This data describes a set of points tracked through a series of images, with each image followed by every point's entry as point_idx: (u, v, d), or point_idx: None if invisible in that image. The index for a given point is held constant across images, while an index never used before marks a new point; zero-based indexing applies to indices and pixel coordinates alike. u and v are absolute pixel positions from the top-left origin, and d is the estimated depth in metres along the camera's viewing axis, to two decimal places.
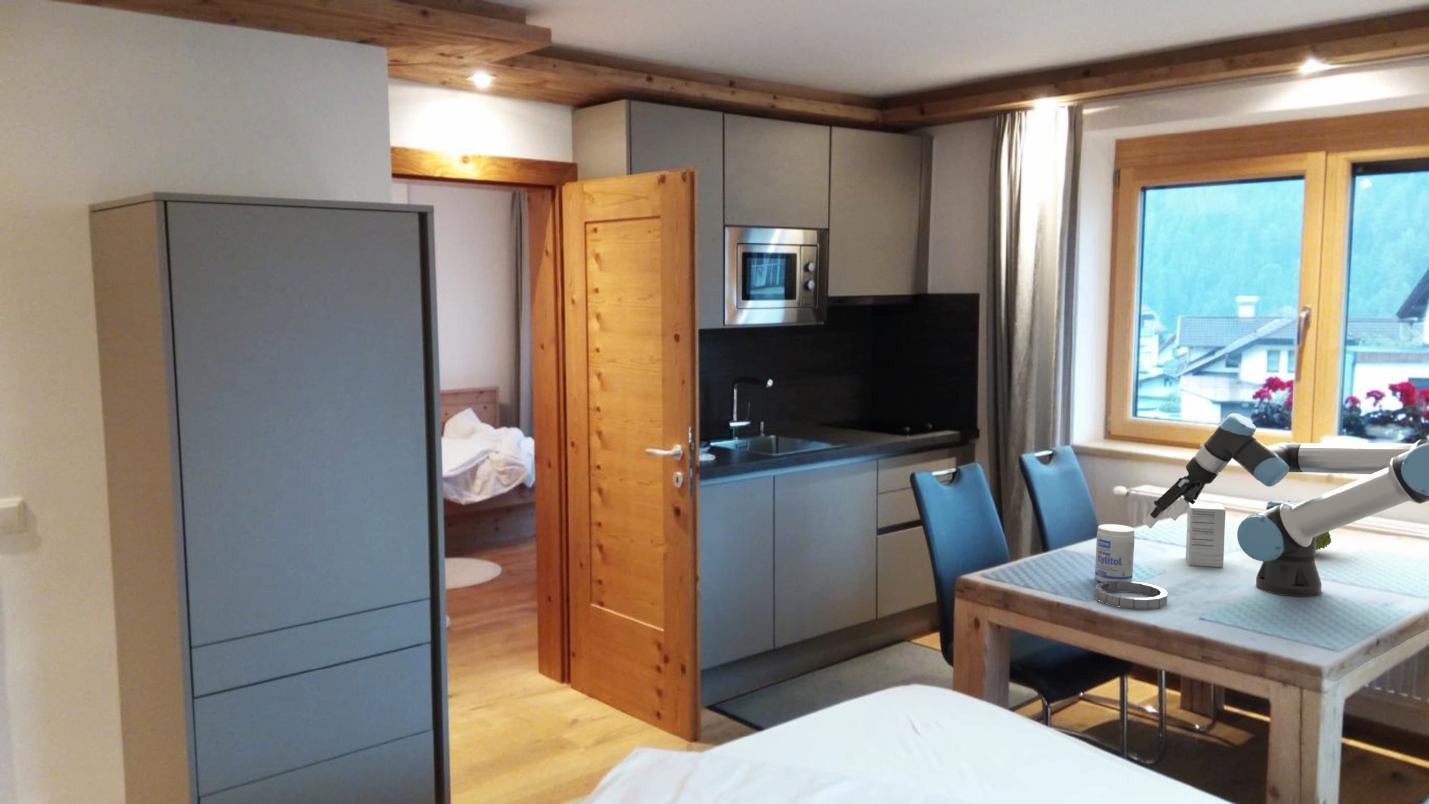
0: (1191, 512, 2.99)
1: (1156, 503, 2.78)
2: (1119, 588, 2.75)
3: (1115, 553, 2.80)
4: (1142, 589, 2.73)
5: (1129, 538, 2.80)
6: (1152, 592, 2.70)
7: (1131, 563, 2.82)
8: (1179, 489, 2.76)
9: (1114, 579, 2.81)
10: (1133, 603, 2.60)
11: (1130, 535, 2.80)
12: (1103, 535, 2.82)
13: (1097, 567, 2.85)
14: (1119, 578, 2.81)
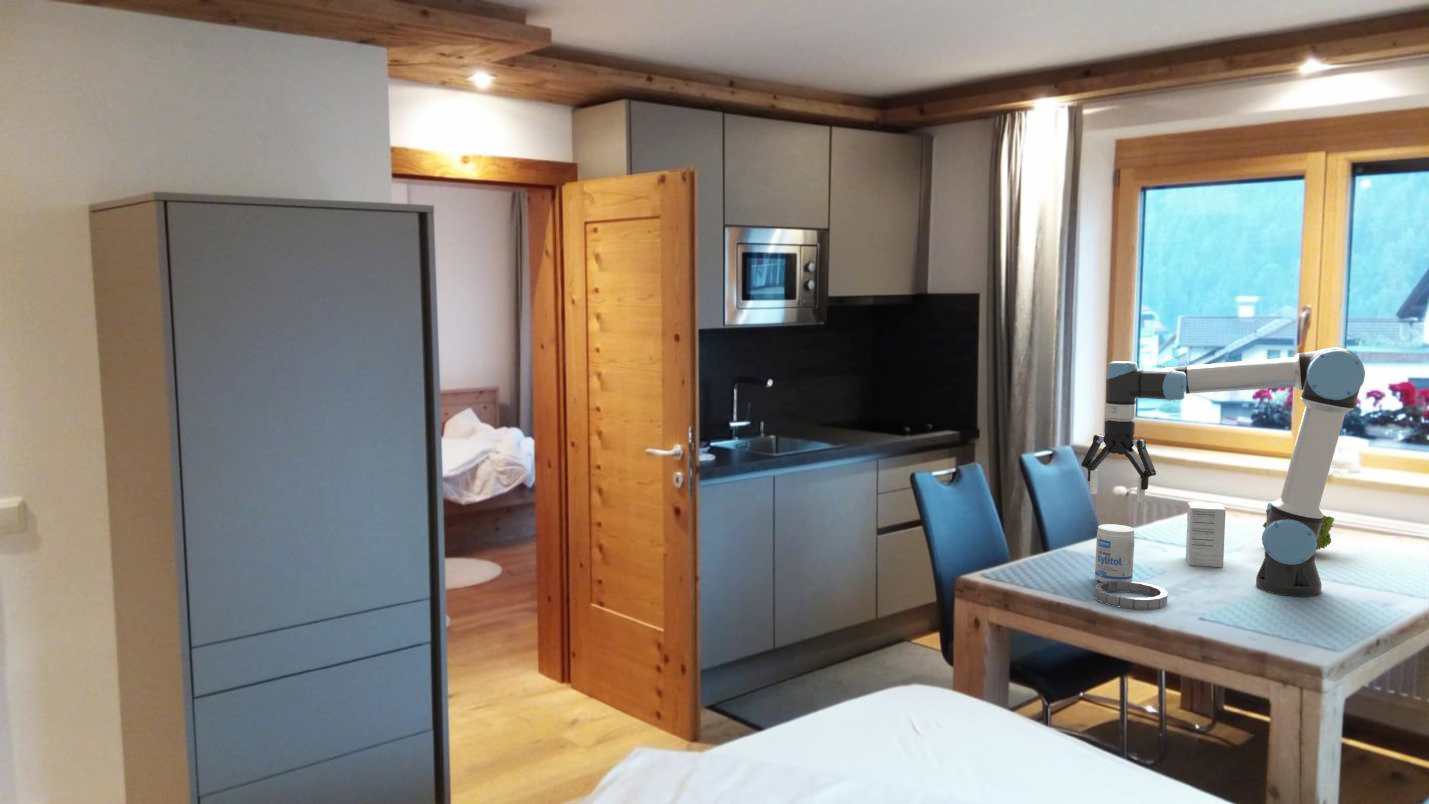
0: (1191, 512, 2.99)
1: (1152, 473, 2.74)
2: (1119, 588, 2.75)
3: (1115, 553, 2.80)
4: (1142, 589, 2.73)
5: (1129, 538, 2.80)
6: (1152, 592, 2.70)
7: (1131, 563, 2.82)
8: (1145, 449, 2.77)
9: (1114, 579, 2.81)
10: (1133, 603, 2.60)
11: (1130, 535, 2.80)
12: (1103, 535, 2.82)
13: (1097, 567, 2.85)
14: (1119, 578, 2.81)
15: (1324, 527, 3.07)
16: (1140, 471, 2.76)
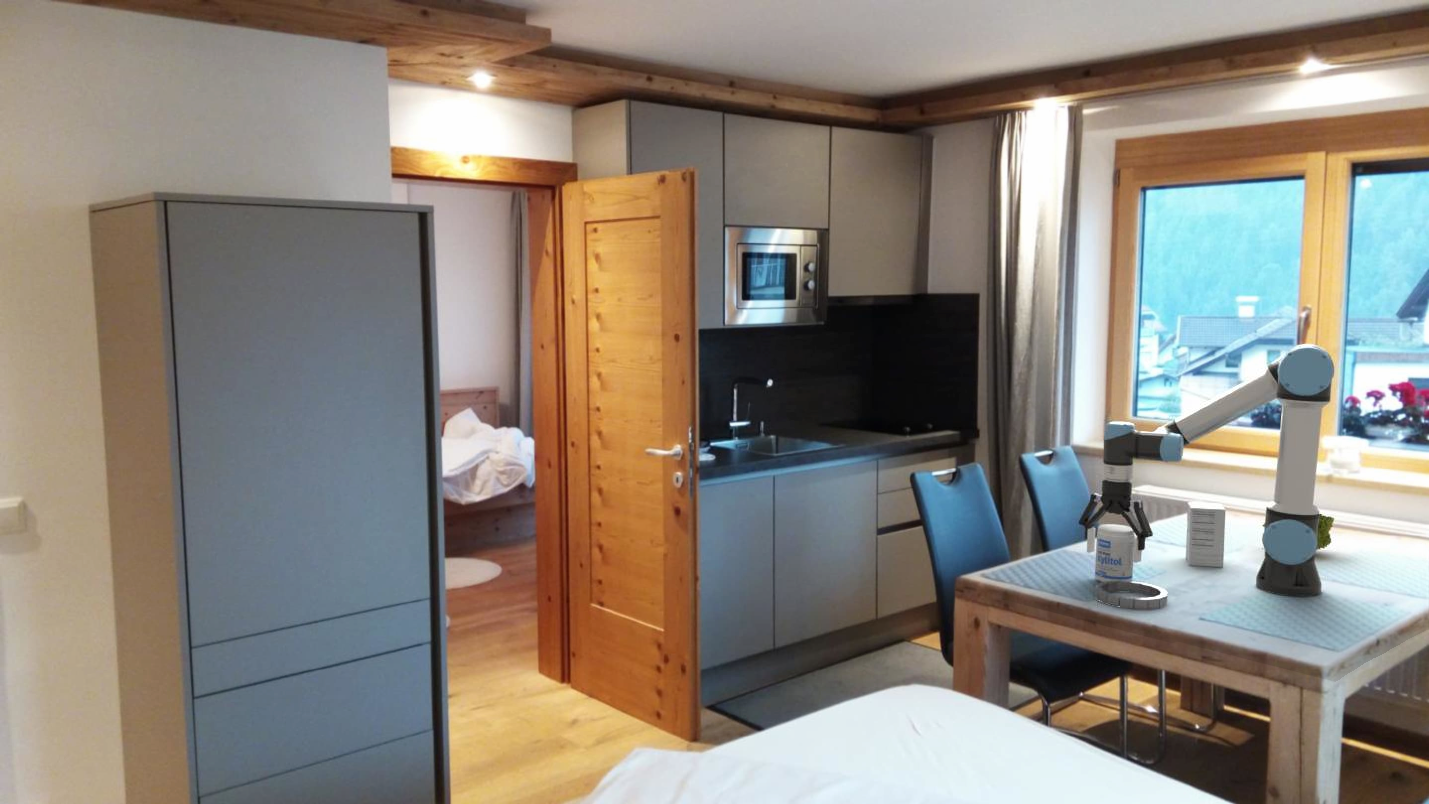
0: (1191, 512, 2.99)
1: (1149, 534, 2.76)
2: (1119, 588, 2.75)
3: (1115, 553, 2.80)
4: (1142, 589, 2.73)
5: (1129, 538, 2.80)
6: (1152, 592, 2.70)
7: (1131, 563, 2.82)
8: (1142, 510, 2.78)
9: (1114, 579, 2.81)
10: (1133, 603, 2.60)
11: (1130, 535, 2.80)
12: (1103, 535, 2.82)
13: (1097, 567, 2.85)
14: (1119, 578, 2.81)
15: (1324, 527, 3.07)
16: (1137, 532, 2.78)
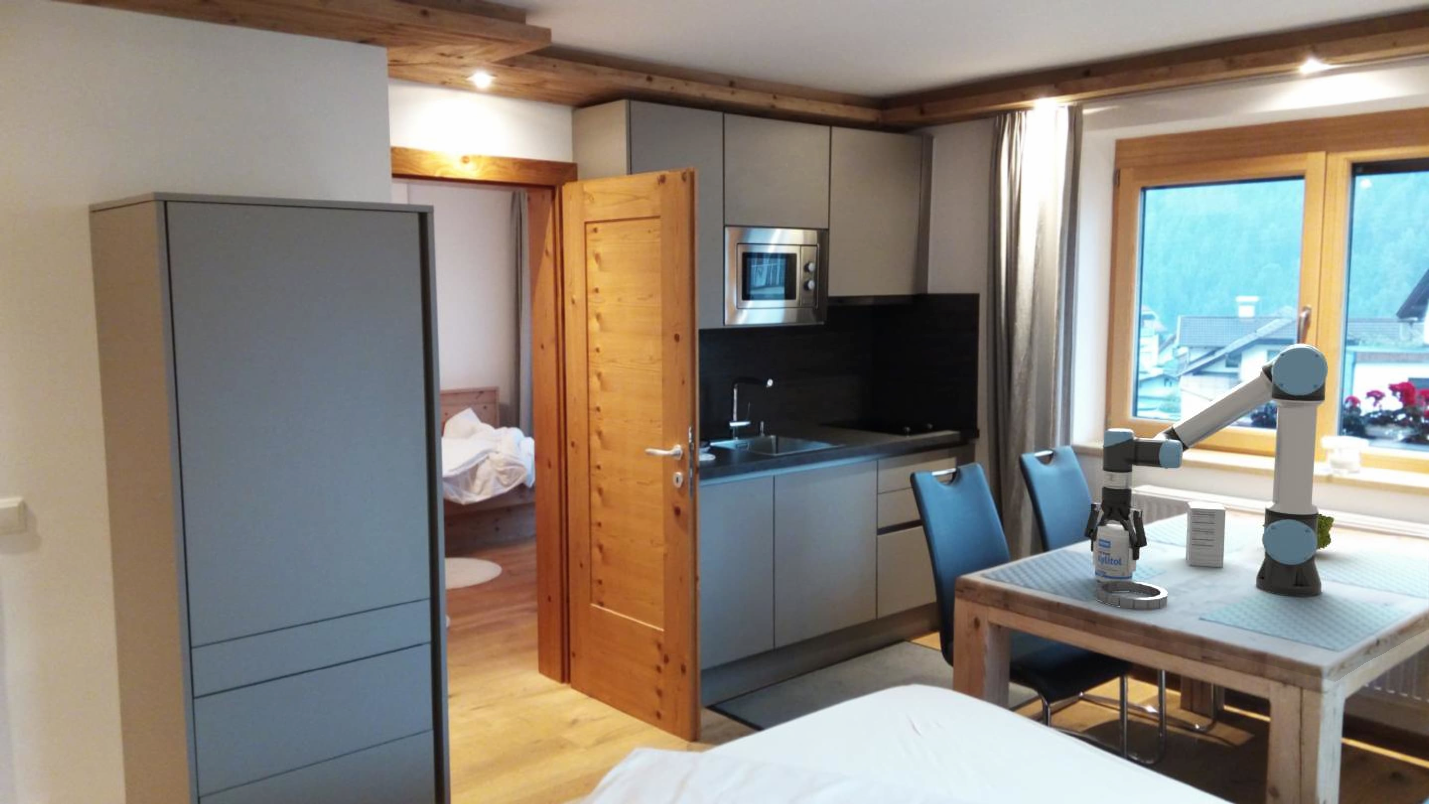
0: (1191, 512, 2.99)
1: (1143, 544, 2.77)
2: (1119, 588, 2.75)
3: (1115, 553, 2.80)
4: (1142, 589, 2.73)
5: None
6: (1152, 592, 2.70)
7: None
8: (1140, 519, 2.79)
9: (1114, 579, 2.81)
10: (1133, 603, 2.60)
11: None
12: (1103, 535, 2.82)
13: (1097, 567, 2.85)
14: (1119, 578, 2.81)
15: (1324, 527, 3.07)
16: (1132, 541, 2.79)
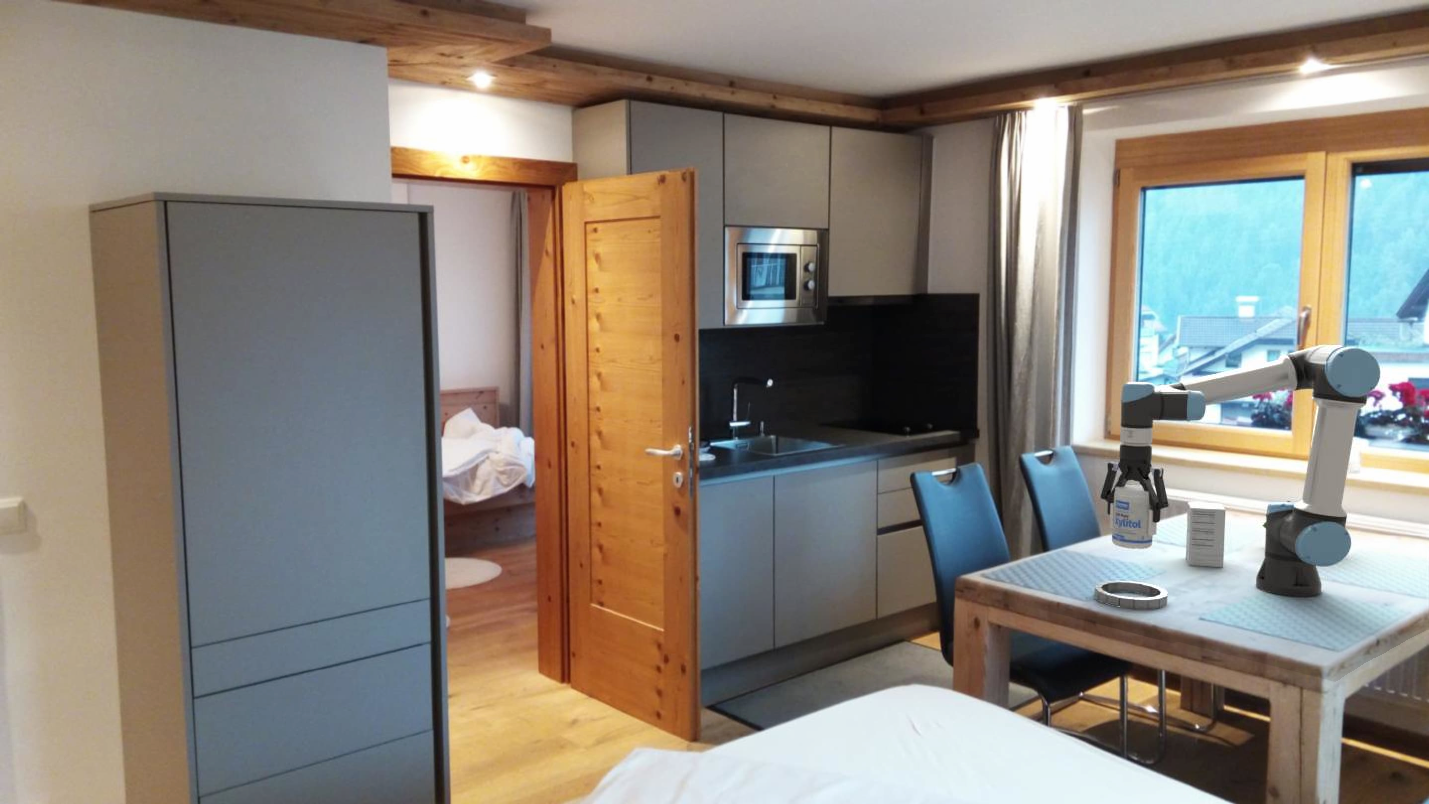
0: (1191, 512, 2.99)
1: (1164, 505, 2.59)
2: (1119, 588, 2.75)
3: (1134, 515, 2.61)
4: (1142, 589, 2.73)
5: None
6: (1152, 592, 2.70)
7: None
8: (1161, 478, 2.60)
9: (1133, 543, 2.62)
10: (1133, 603, 2.60)
11: None
12: (1121, 496, 2.63)
13: (1114, 530, 2.66)
14: (1138, 542, 2.62)
15: None
16: (1152, 502, 2.60)
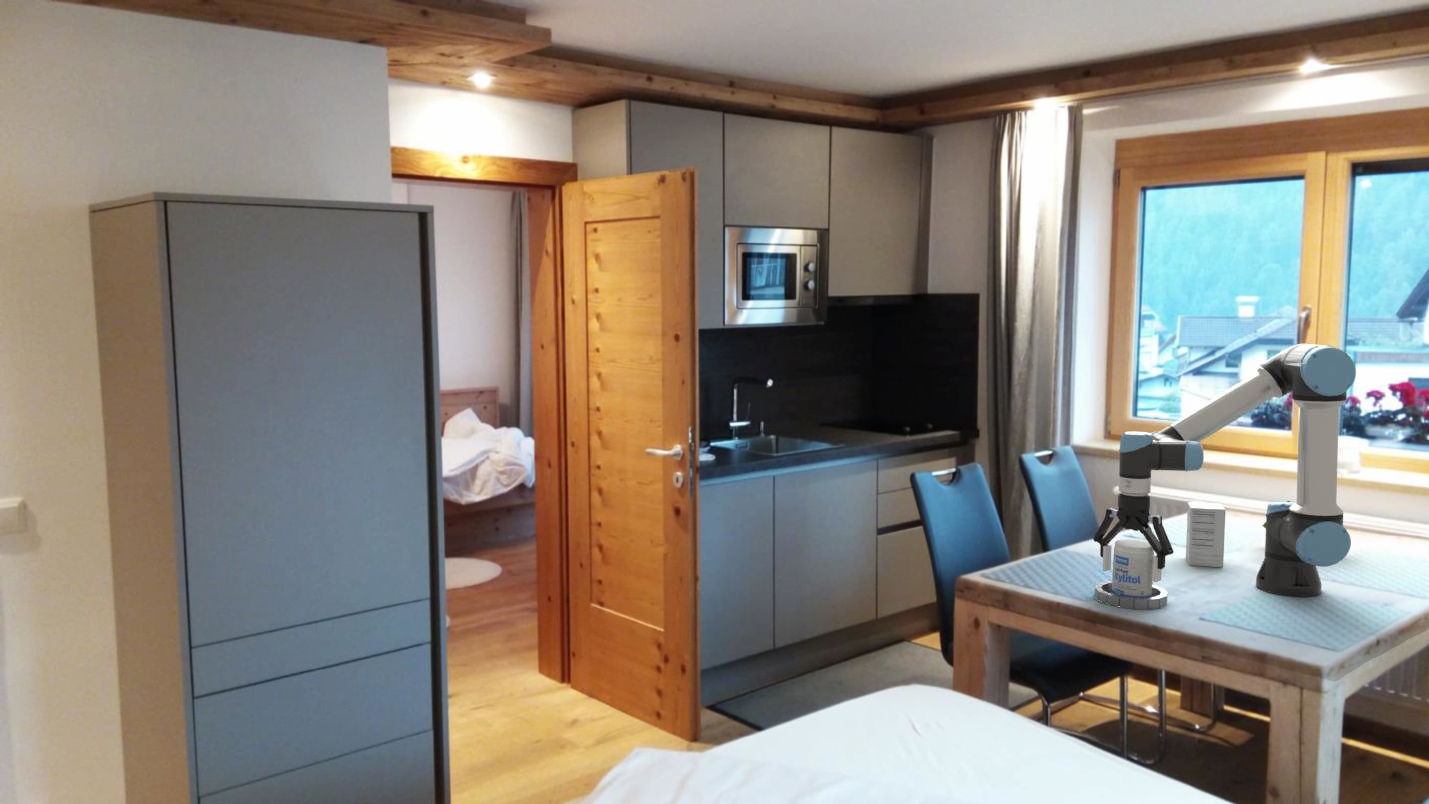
0: (1191, 512, 2.99)
1: (1169, 552, 2.58)
2: None
3: (1134, 571, 2.63)
4: None
5: (1149, 554, 2.62)
6: (1152, 592, 2.70)
7: (1150, 581, 2.64)
8: (1161, 525, 2.61)
9: None
10: (1133, 603, 2.60)
11: (1149, 551, 2.63)
12: (1121, 551, 2.64)
13: (1114, 585, 2.67)
14: (1137, 597, 2.63)
15: None
16: (1156, 549, 2.60)
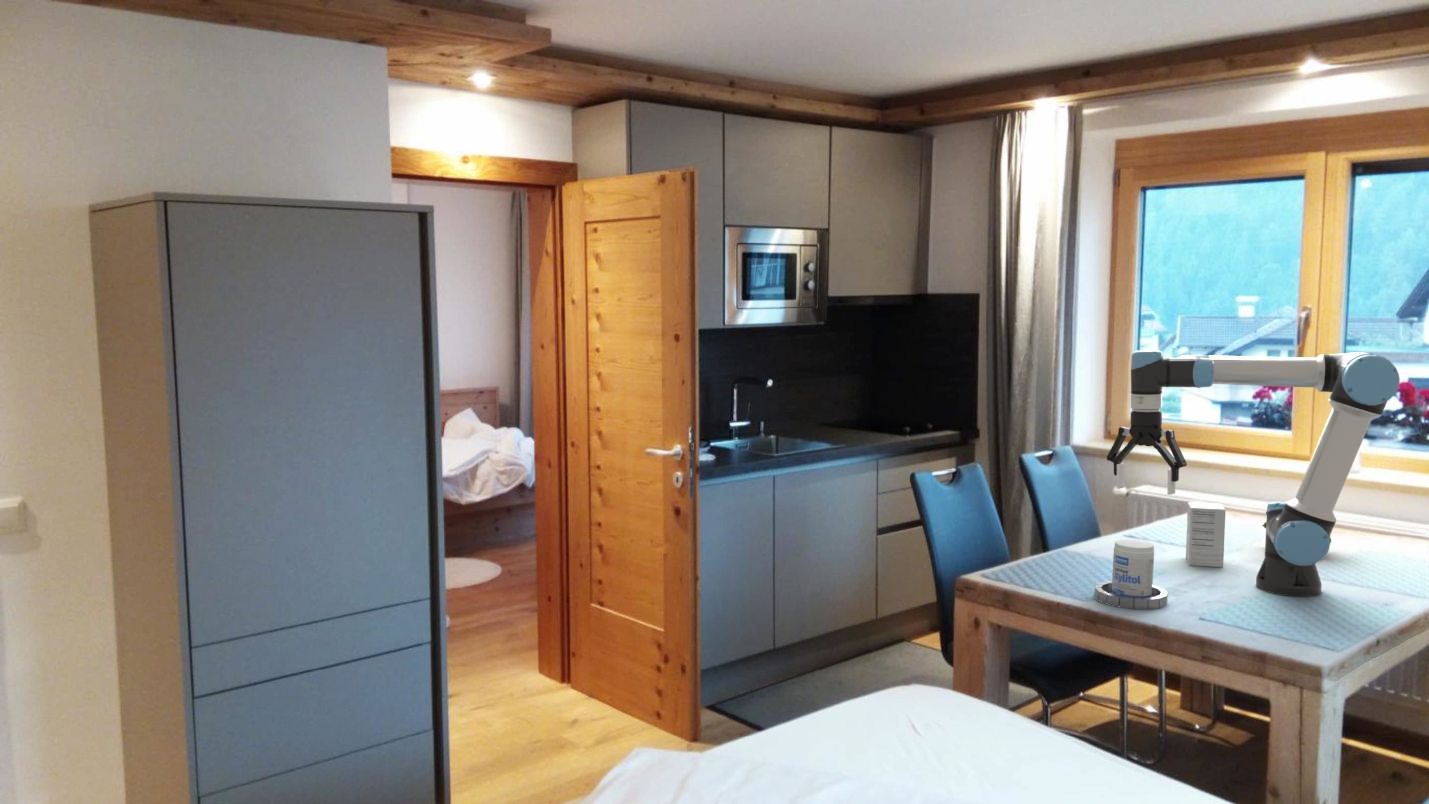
0: (1191, 512, 2.99)
1: (1183, 464, 2.66)
2: None
3: (1134, 571, 2.63)
4: None
5: (1148, 554, 2.62)
6: (1152, 592, 2.70)
7: (1150, 581, 2.64)
8: (1174, 439, 2.68)
9: None
10: (1133, 603, 2.60)
11: (1149, 551, 2.63)
12: (1121, 551, 2.64)
13: (1114, 585, 2.67)
14: (1137, 597, 2.63)
15: None
16: (1170, 462, 2.68)
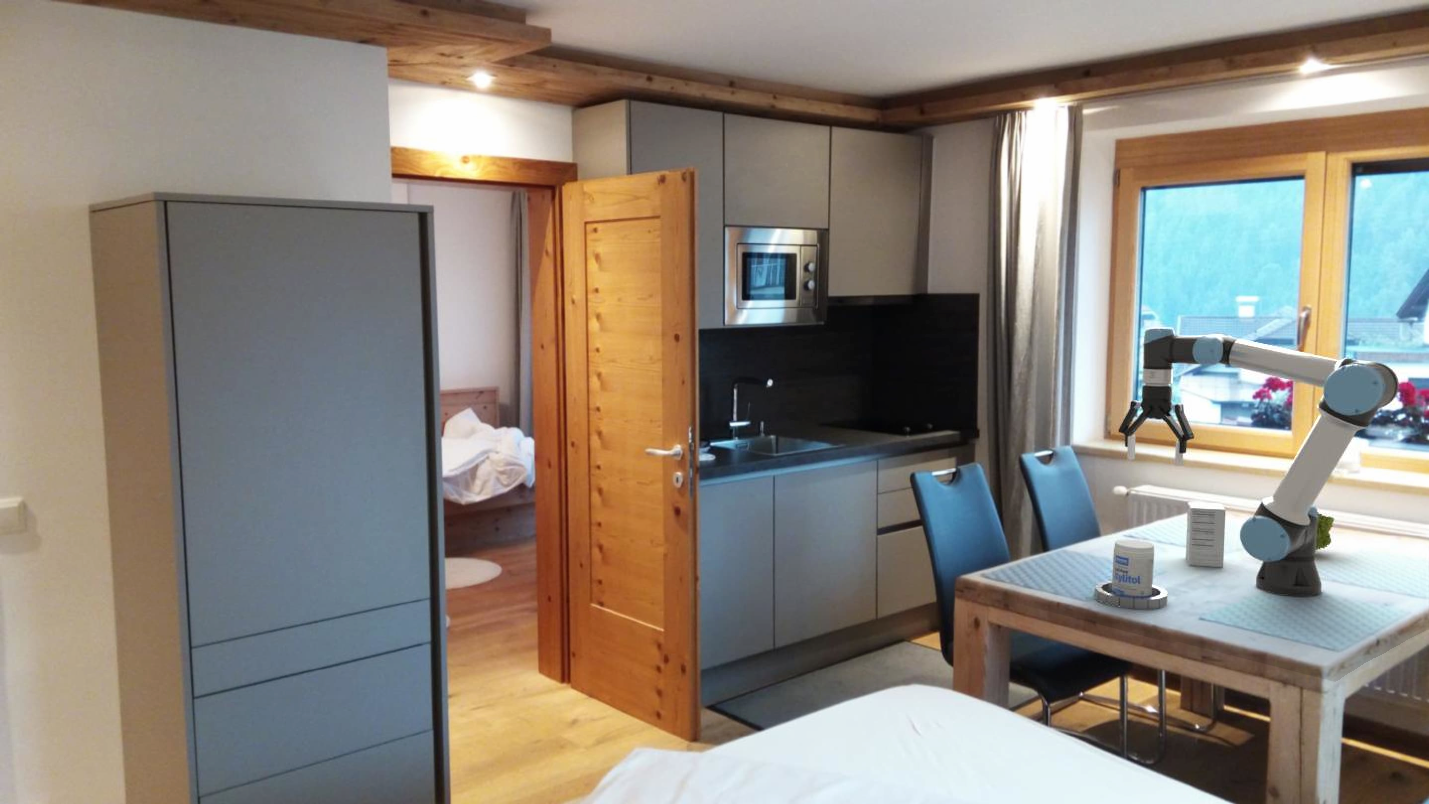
0: (1191, 512, 2.99)
1: (1190, 437, 2.78)
2: None
3: (1134, 571, 2.63)
4: None
5: (1148, 554, 2.62)
6: (1152, 592, 2.70)
7: (1150, 581, 2.64)
8: (1183, 413, 2.80)
9: None
10: (1133, 603, 2.60)
11: (1149, 551, 2.62)
12: (1121, 551, 2.64)
13: (1114, 585, 2.67)
14: (1137, 597, 2.63)
15: (1324, 527, 3.07)
16: (1178, 435, 2.80)
